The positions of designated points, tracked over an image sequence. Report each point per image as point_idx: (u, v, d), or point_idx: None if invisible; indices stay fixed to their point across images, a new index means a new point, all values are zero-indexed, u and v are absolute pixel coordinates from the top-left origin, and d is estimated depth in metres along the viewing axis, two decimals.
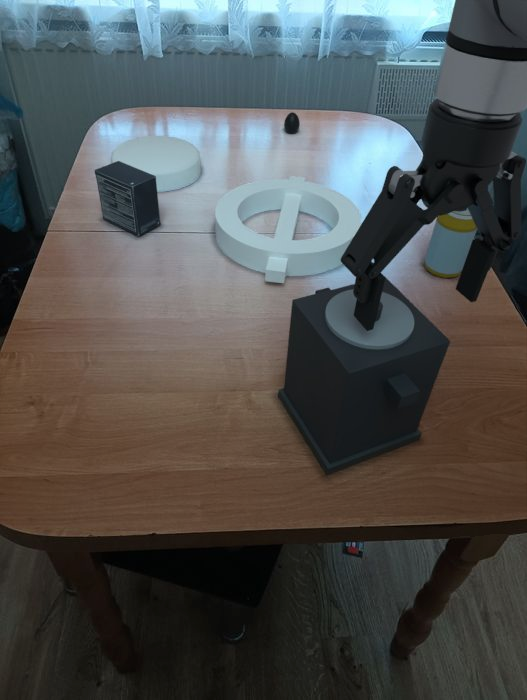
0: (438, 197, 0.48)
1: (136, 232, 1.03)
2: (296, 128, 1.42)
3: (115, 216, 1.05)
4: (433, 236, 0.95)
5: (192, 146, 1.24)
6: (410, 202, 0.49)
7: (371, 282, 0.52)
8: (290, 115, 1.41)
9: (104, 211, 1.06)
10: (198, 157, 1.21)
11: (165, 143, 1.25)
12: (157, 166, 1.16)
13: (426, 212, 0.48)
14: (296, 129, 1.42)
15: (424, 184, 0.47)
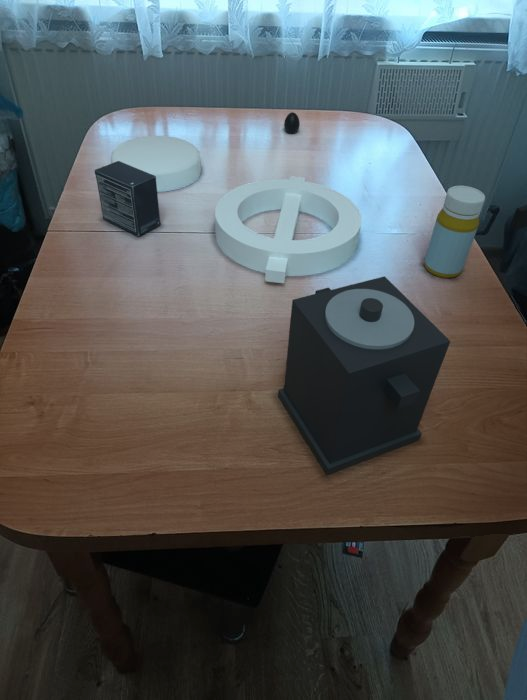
0: None
1: (136, 232, 1.03)
2: (296, 128, 1.42)
3: (115, 216, 1.05)
4: (433, 236, 0.95)
5: (192, 146, 1.24)
6: None
7: None
8: (290, 115, 1.41)
9: (104, 211, 1.06)
10: (198, 157, 1.21)
11: (165, 143, 1.25)
12: (157, 166, 1.16)
13: None
14: (296, 129, 1.42)
15: None
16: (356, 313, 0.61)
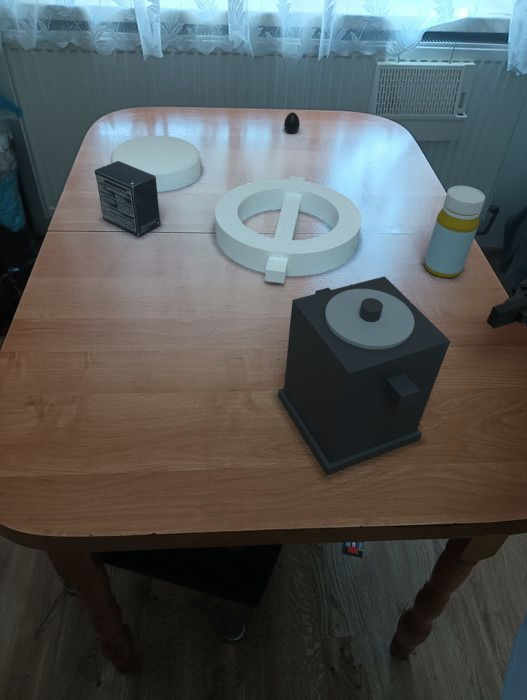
0: None
1: (136, 232, 1.03)
2: (296, 128, 1.42)
3: (115, 216, 1.05)
4: (433, 236, 0.95)
5: (192, 146, 1.24)
6: None
7: None
8: (290, 115, 1.41)
9: (104, 211, 1.06)
10: (198, 157, 1.21)
11: (165, 143, 1.25)
12: (157, 166, 1.16)
13: None
14: (296, 129, 1.42)
15: None
16: (356, 313, 0.61)
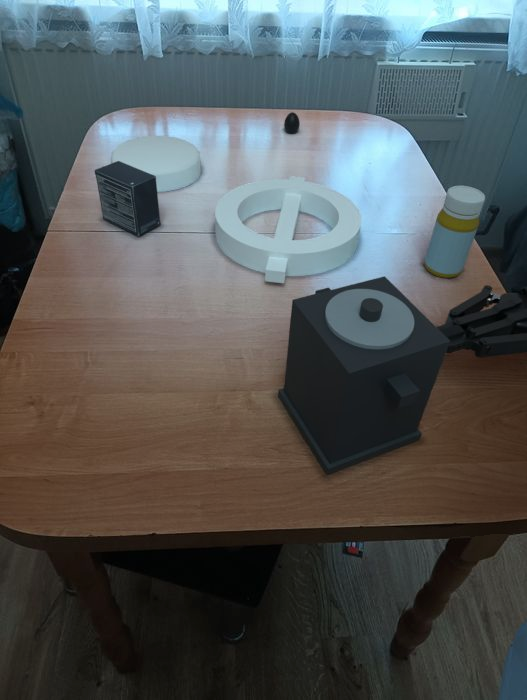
0: None
1: (136, 232, 1.03)
2: (296, 128, 1.42)
3: (115, 216, 1.05)
4: (433, 236, 0.95)
5: (192, 146, 1.24)
6: None
7: None
8: (290, 115, 1.41)
9: (104, 211, 1.06)
10: (198, 157, 1.21)
11: (165, 143, 1.25)
12: (157, 166, 1.16)
13: None
14: (296, 129, 1.42)
15: (501, 296, 0.77)
16: (356, 313, 0.61)
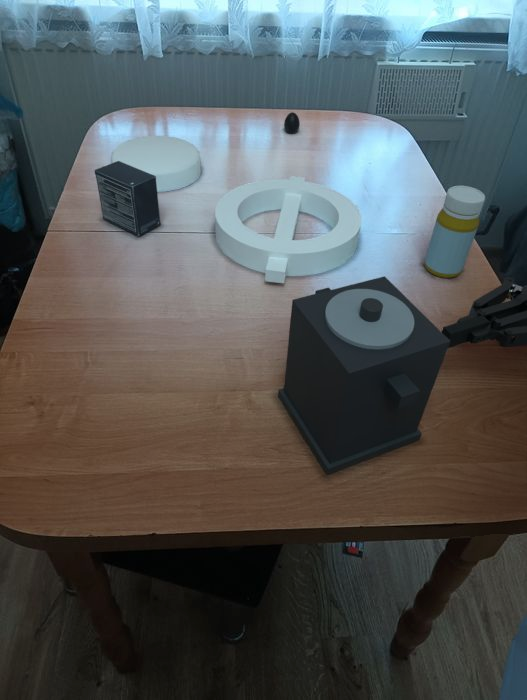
0: None
1: (136, 232, 1.03)
2: (296, 128, 1.42)
3: (115, 216, 1.05)
4: (433, 236, 0.95)
5: (192, 146, 1.24)
6: None
7: None
8: (290, 115, 1.41)
9: (104, 211, 1.06)
10: (198, 157, 1.21)
11: (165, 143, 1.25)
12: (157, 166, 1.16)
13: None
14: (296, 129, 1.42)
15: (523, 288, 0.78)
16: (356, 313, 0.61)
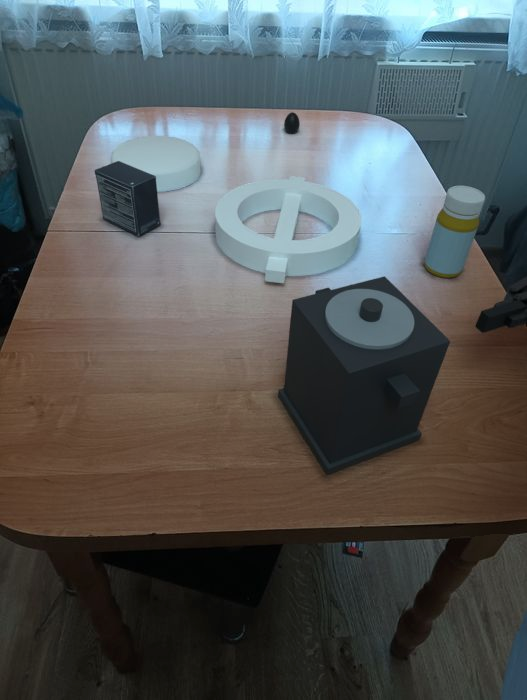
0: None
1: (136, 232, 1.03)
2: (296, 128, 1.42)
3: (115, 216, 1.05)
4: (433, 236, 0.95)
5: (192, 146, 1.24)
6: None
7: None
8: (290, 115, 1.41)
9: (104, 211, 1.06)
10: (198, 157, 1.21)
11: (165, 143, 1.25)
12: (157, 166, 1.16)
13: None
14: (296, 129, 1.42)
15: None
16: (356, 313, 0.61)
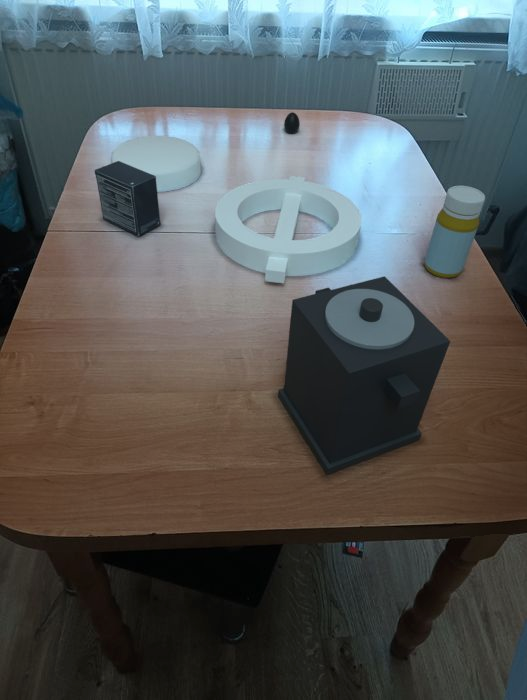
0: None
1: (136, 232, 1.03)
2: (296, 128, 1.42)
3: (115, 216, 1.05)
4: (433, 236, 0.95)
5: (192, 146, 1.24)
6: None
7: None
8: (290, 115, 1.41)
9: (104, 211, 1.06)
10: (198, 157, 1.21)
11: (165, 143, 1.25)
12: (157, 166, 1.16)
13: None
14: (296, 129, 1.42)
15: None
16: (356, 313, 0.61)
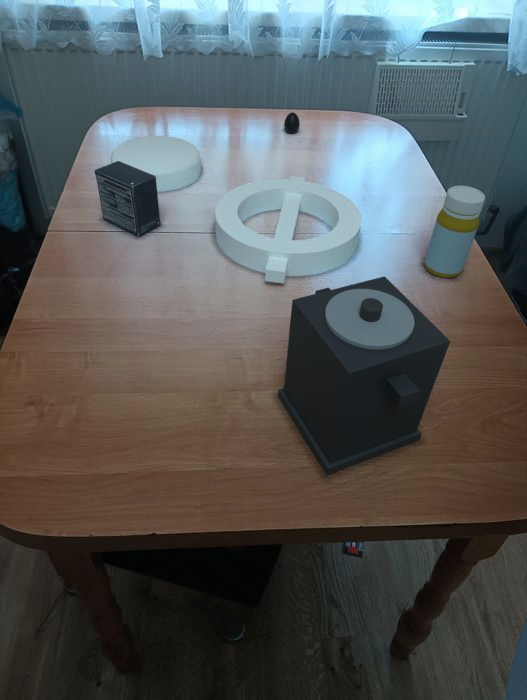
0: None
1: (136, 232, 1.03)
2: (296, 128, 1.42)
3: (115, 216, 1.05)
4: (433, 236, 0.95)
5: (192, 146, 1.24)
6: None
7: None
8: (290, 115, 1.41)
9: (104, 211, 1.06)
10: (198, 157, 1.21)
11: (165, 143, 1.25)
12: (157, 166, 1.16)
13: None
14: (296, 129, 1.42)
15: None
16: (356, 313, 0.61)
